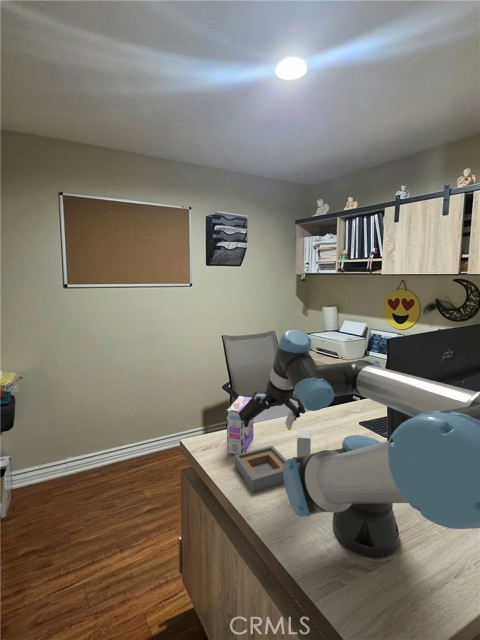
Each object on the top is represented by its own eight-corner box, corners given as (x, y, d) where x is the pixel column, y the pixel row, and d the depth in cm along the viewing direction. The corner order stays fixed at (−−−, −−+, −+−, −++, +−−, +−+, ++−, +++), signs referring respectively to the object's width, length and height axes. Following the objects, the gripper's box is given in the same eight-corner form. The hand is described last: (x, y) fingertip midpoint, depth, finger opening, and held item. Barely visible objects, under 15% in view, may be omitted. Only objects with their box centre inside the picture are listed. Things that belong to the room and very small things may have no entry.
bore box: (294, 479, 101) (294, 468, 100) (252, 492, 95) (252, 480, 95) (272, 456, 113) (272, 445, 113) (234, 466, 108) (234, 455, 107)
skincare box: (310, 474, 103) (310, 439, 101) (296, 473, 104) (296, 437, 102) (310, 463, 109) (310, 429, 107) (296, 462, 110) (297, 428, 108)
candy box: (242, 457, 113) (242, 412, 111) (226, 454, 115) (225, 409, 113) (254, 437, 126) (253, 396, 124) (239, 435, 128) (238, 395, 125)
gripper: (318, 367, 95) (299, 414, 107) (235, 374, 88) (225, 423, 100) (329, 387, 89) (308, 434, 102) (242, 395, 82) (230, 445, 94)
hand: (267, 429), depth 101 cm, fingers open, 13 cm apart
